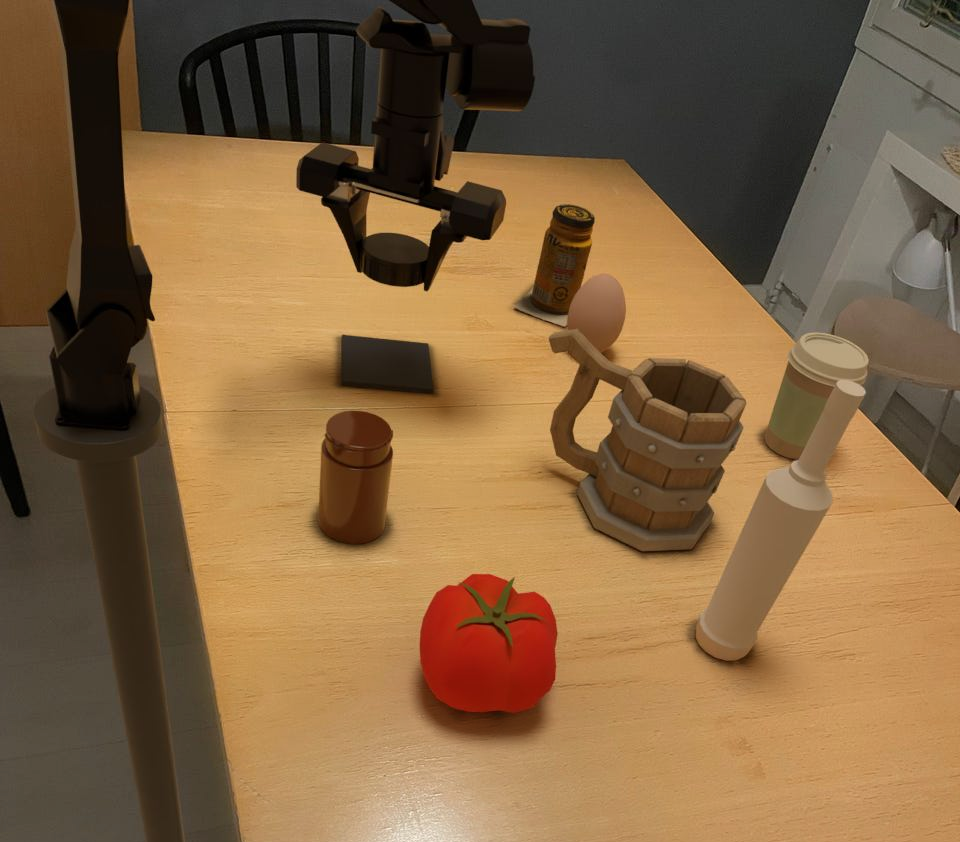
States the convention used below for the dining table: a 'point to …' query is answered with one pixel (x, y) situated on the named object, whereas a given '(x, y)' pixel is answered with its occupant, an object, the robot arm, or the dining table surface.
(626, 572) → the dining table surface
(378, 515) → the jam jar
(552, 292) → the condiment
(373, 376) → the rubber mat
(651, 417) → the tankard
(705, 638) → the bottle
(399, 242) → the jar lid
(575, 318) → the egg
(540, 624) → the tomato
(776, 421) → the coffee cup
